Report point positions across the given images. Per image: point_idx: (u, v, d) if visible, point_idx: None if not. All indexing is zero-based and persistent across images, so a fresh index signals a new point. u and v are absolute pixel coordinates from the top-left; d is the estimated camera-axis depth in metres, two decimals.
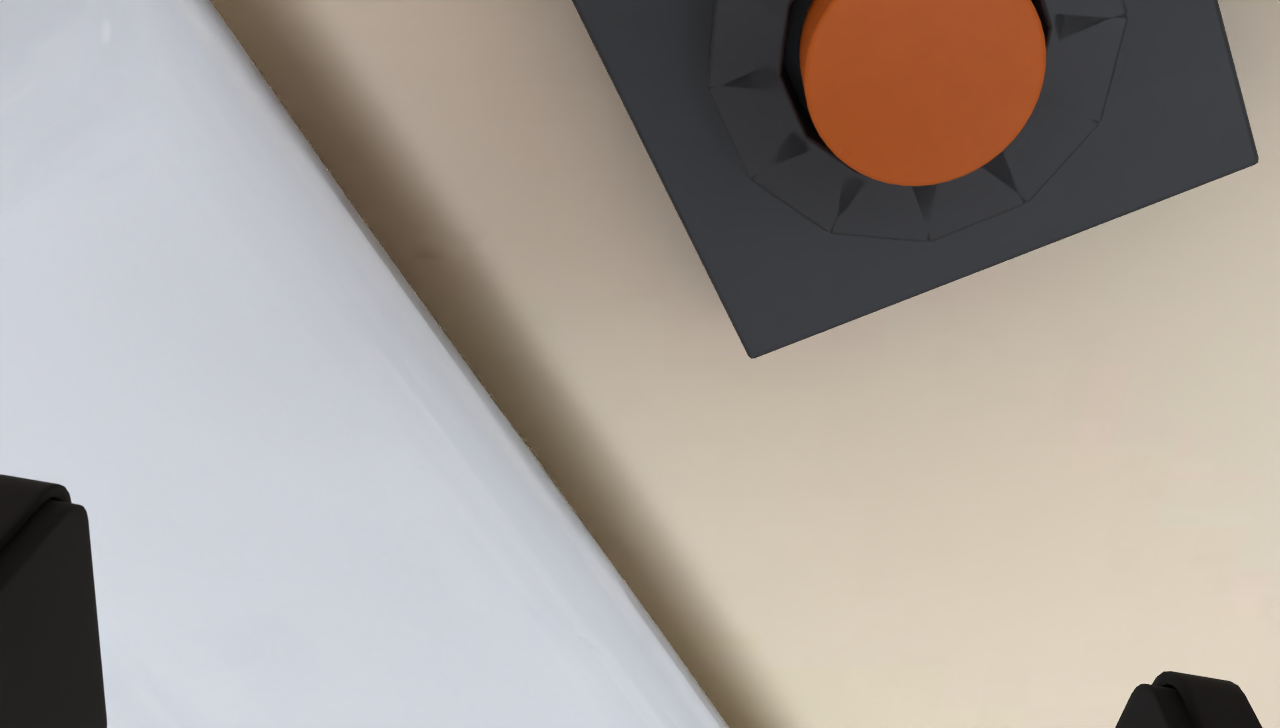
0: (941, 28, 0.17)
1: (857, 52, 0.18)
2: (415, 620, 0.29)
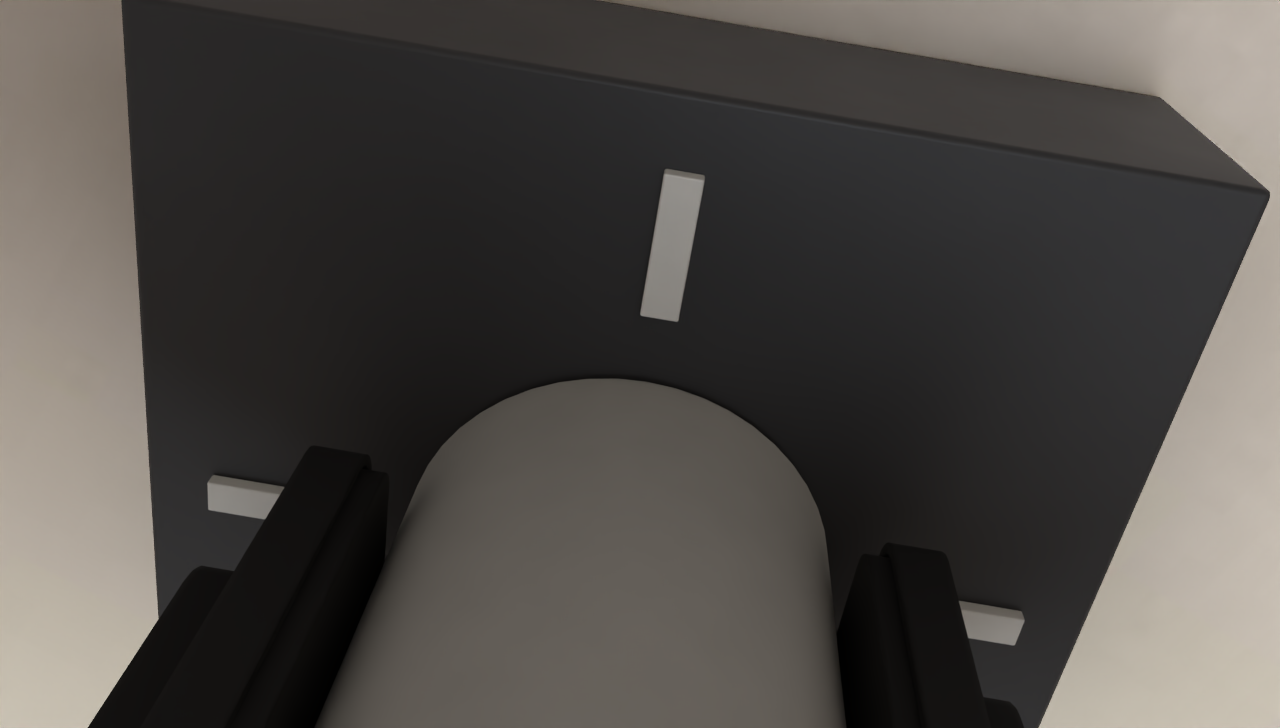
0: None
1: None
2: None
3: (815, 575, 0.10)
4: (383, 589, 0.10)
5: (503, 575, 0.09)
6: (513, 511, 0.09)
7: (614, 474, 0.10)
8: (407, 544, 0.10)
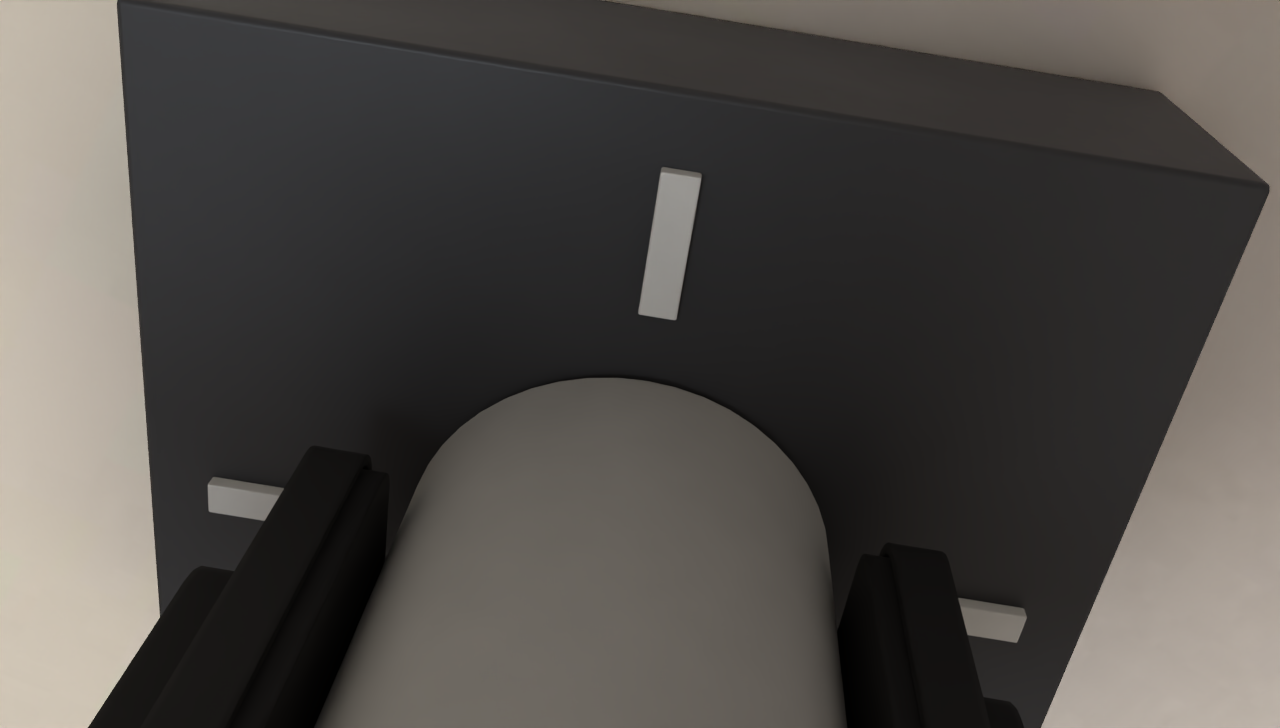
0: None
1: None
2: None
3: (816, 574, 0.10)
4: (383, 589, 0.10)
5: (503, 576, 0.09)
6: (513, 511, 0.09)
7: (614, 473, 0.10)
8: (407, 544, 0.10)
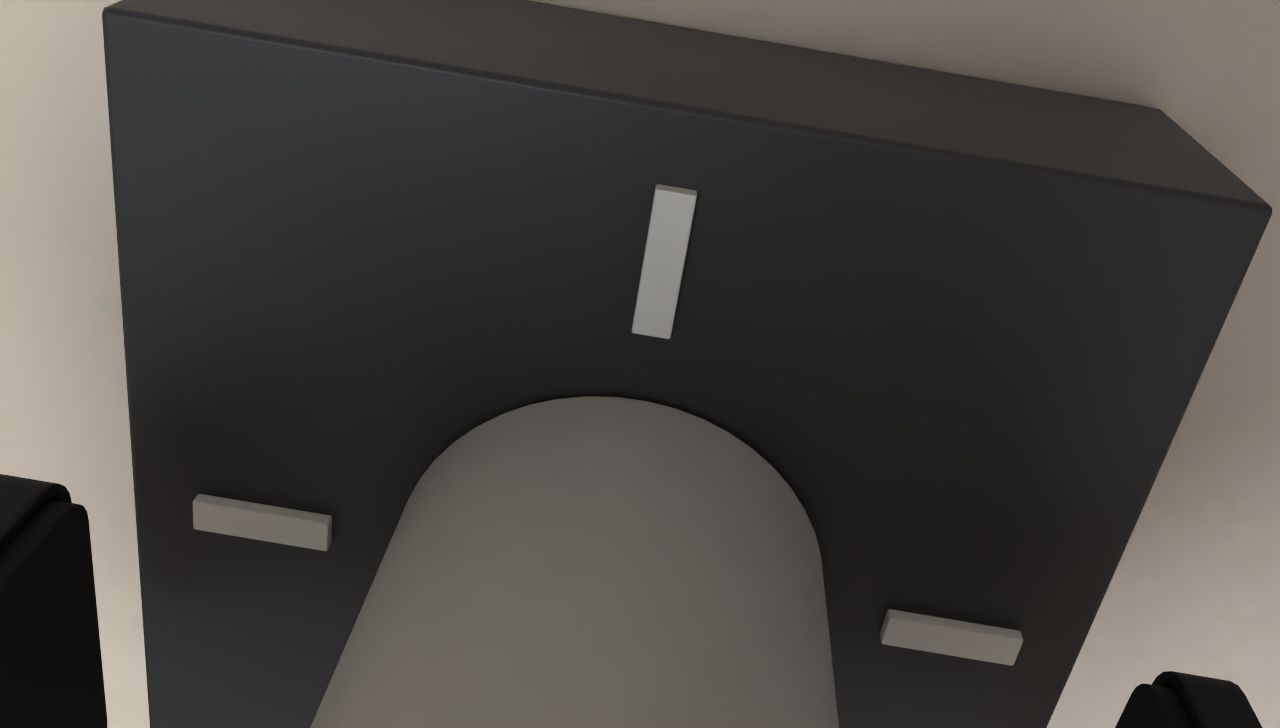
0: None
1: None
2: None
3: (813, 603, 0.10)
4: (373, 609, 0.09)
5: (500, 603, 0.08)
6: (509, 533, 0.09)
7: (614, 497, 0.10)
8: (399, 563, 0.10)
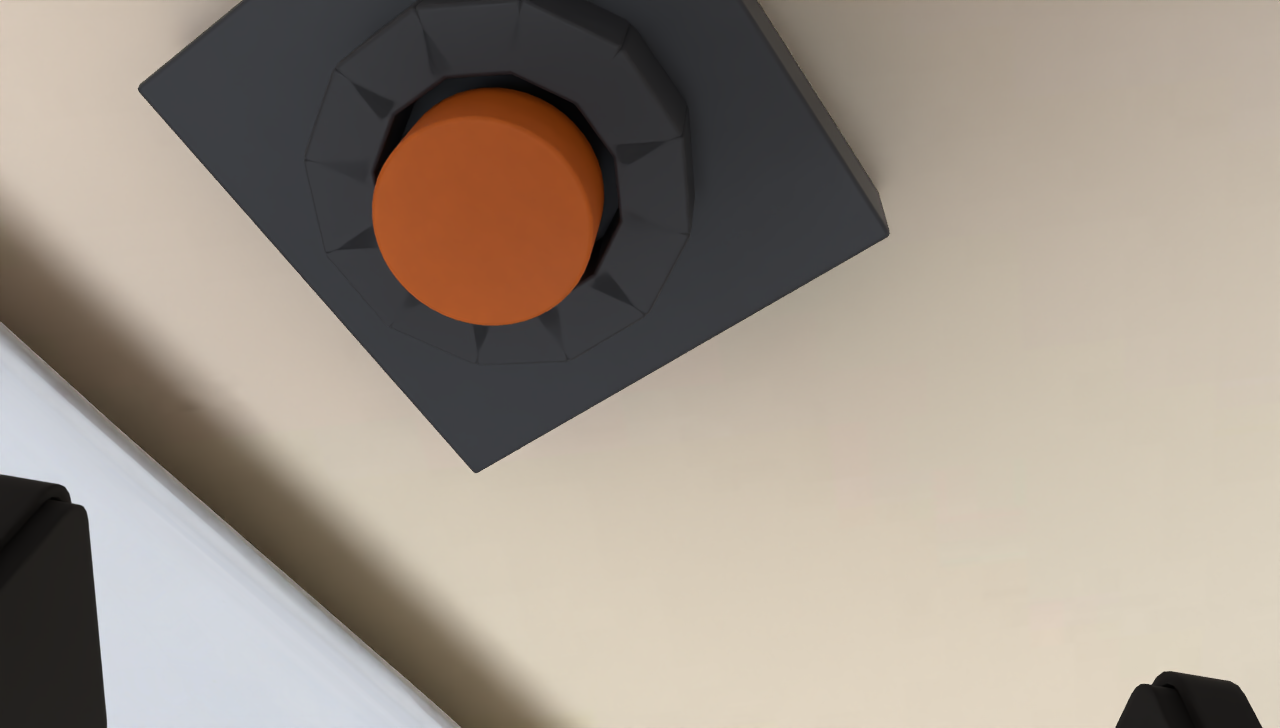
0: (482, 185, 0.18)
1: (415, 216, 0.19)
2: None
3: None
4: None
5: None
6: None
7: None
8: None
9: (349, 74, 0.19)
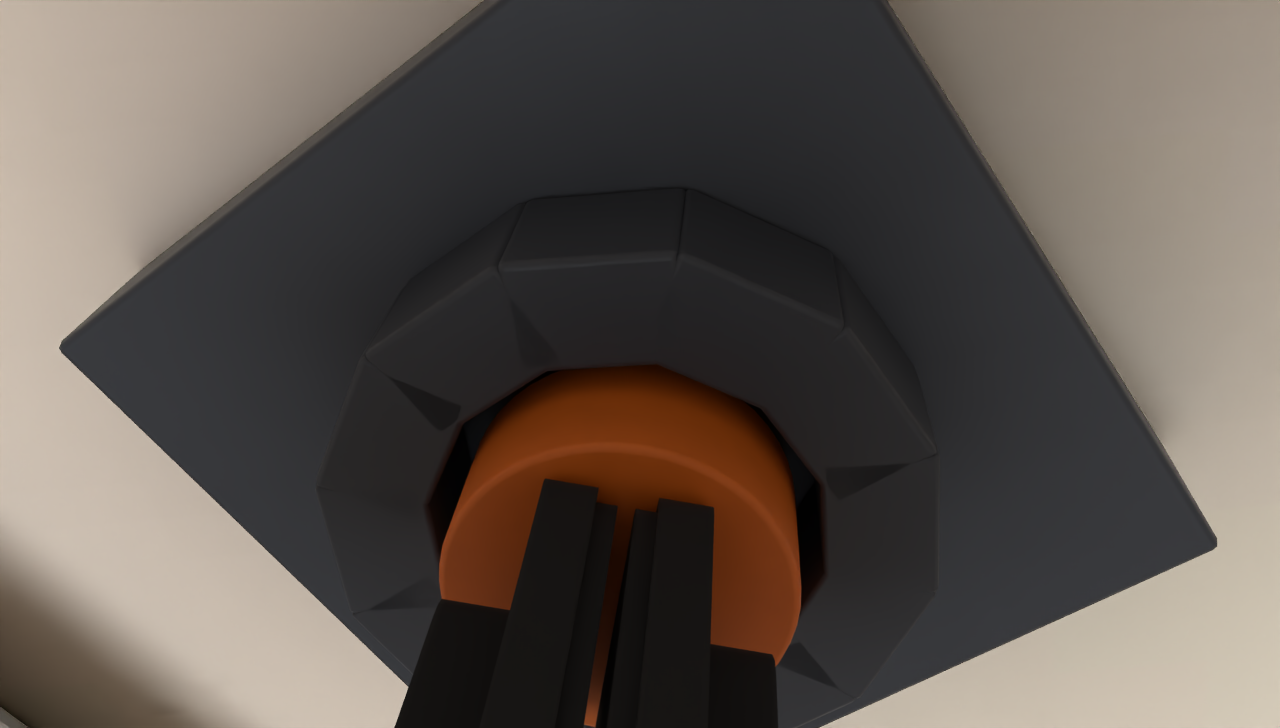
0: (621, 543, 0.11)
1: (509, 585, 0.12)
2: None
3: None
4: None
5: None
6: None
7: None
8: None
9: (387, 366, 0.12)
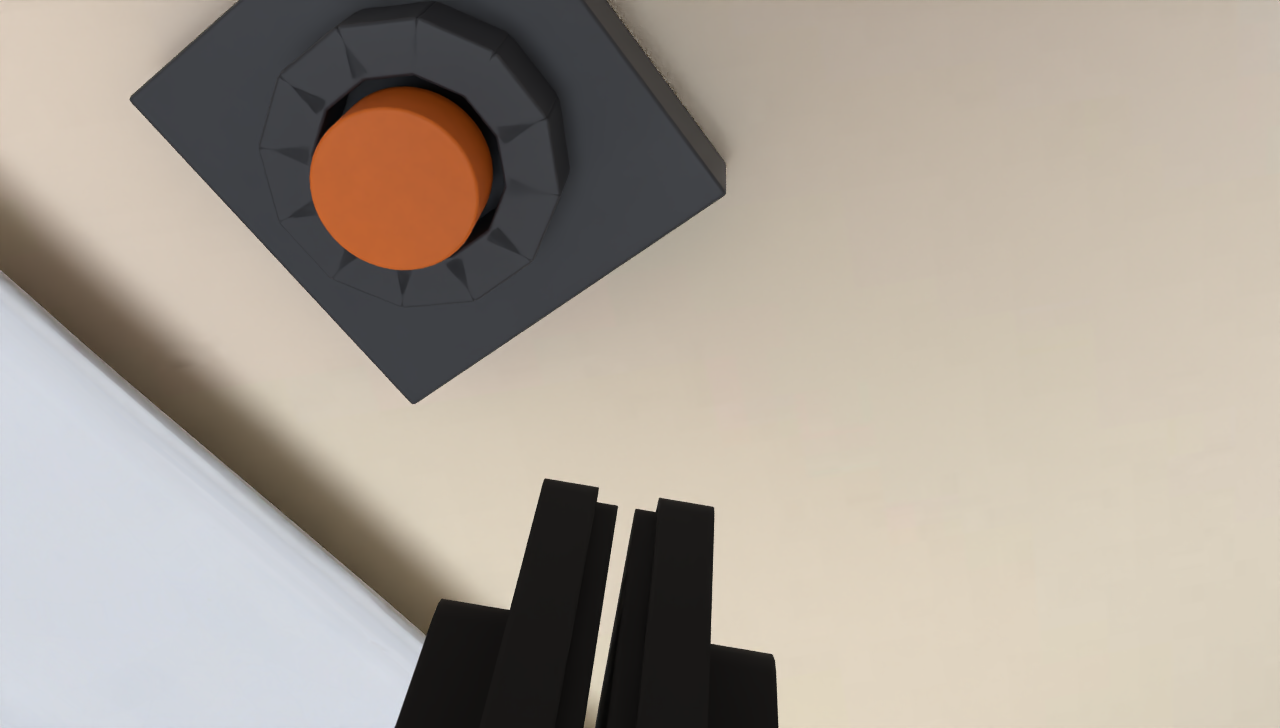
0: (391, 159, 0.24)
1: (342, 186, 0.24)
2: (249, 649, 0.36)
3: None
4: None
5: None
6: None
7: None
8: None
9: (290, 80, 0.25)
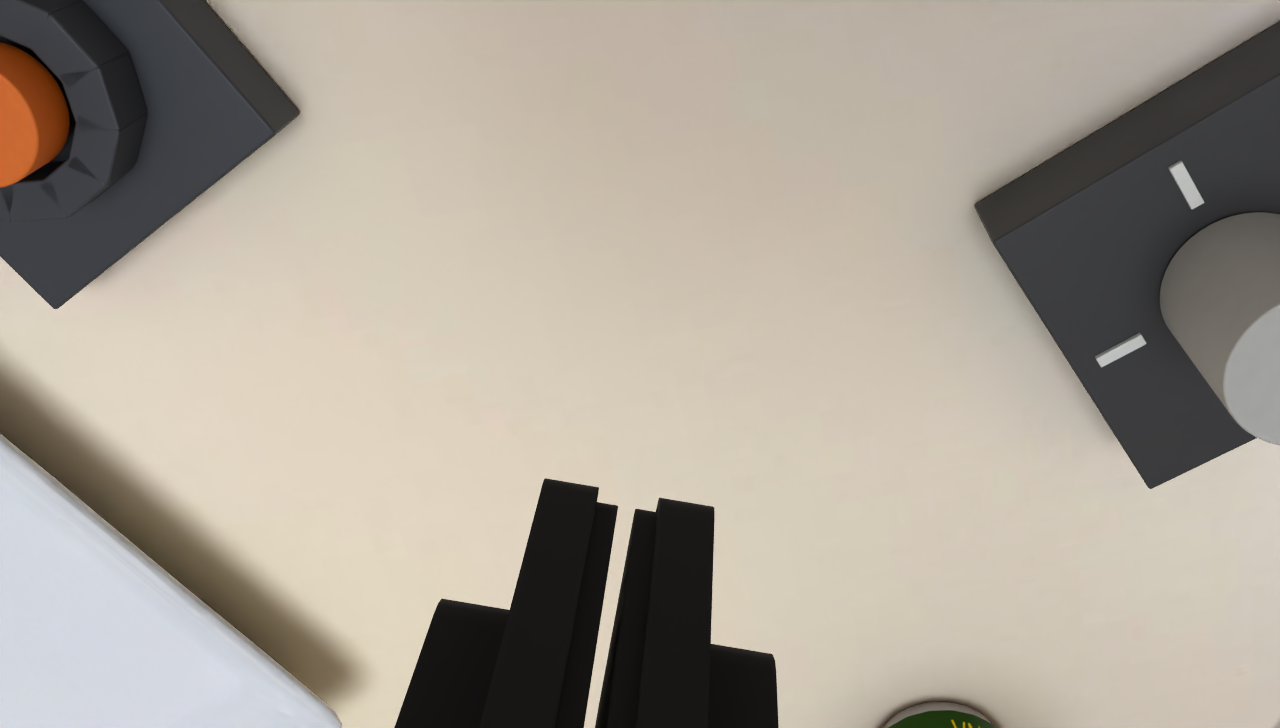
0: None
1: None
2: None
3: None
4: (1187, 325, 0.31)
5: (1222, 289, 0.30)
6: (1208, 278, 0.30)
7: (1227, 250, 0.31)
8: (1182, 312, 0.31)
9: None
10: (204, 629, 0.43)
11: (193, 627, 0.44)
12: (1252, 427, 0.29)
